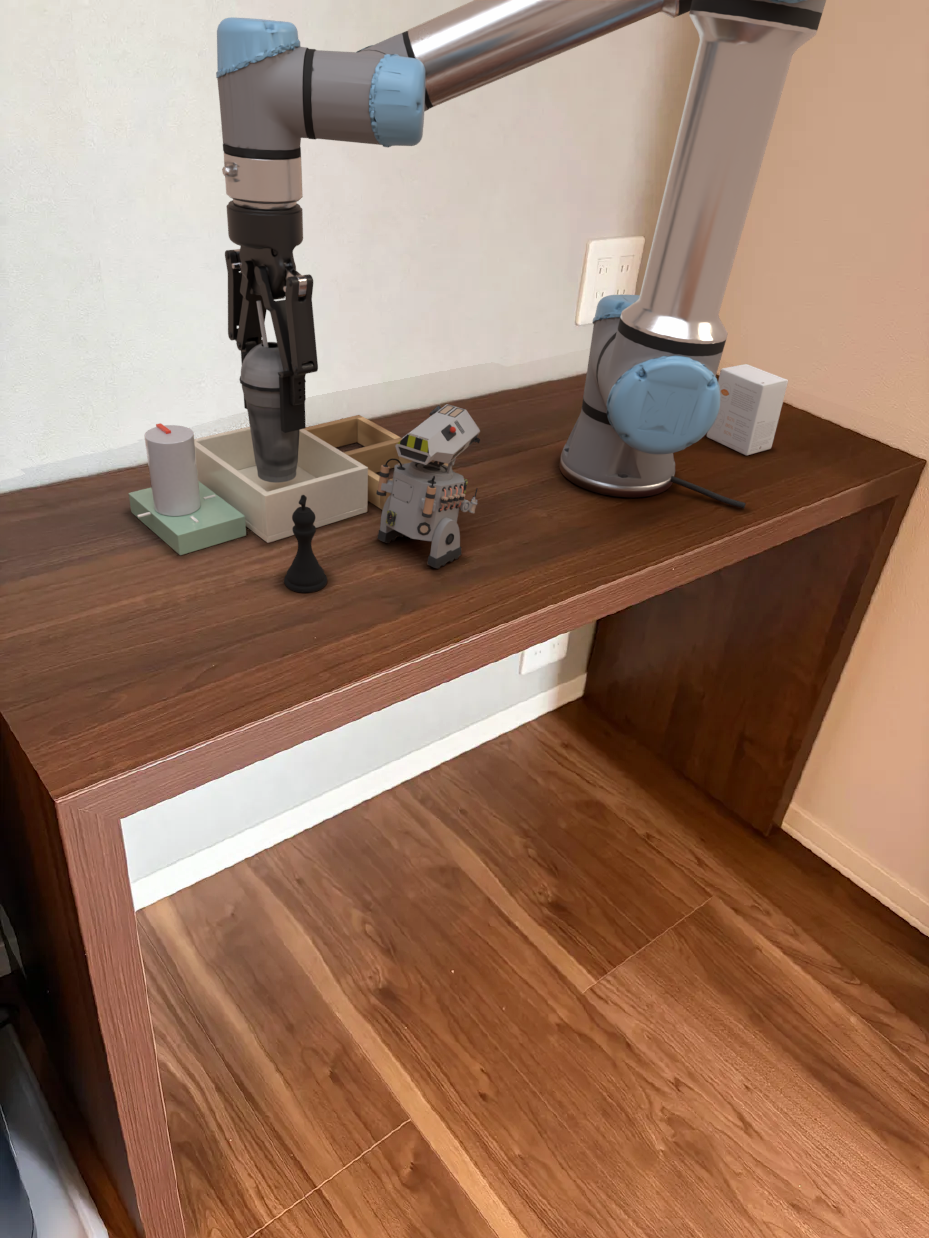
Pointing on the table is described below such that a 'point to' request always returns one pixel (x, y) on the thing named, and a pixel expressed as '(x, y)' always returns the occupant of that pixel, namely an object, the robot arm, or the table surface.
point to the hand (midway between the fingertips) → (274, 417)
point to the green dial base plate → (191, 521)
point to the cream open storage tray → (269, 506)
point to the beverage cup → (268, 411)
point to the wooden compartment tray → (372, 455)
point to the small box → (748, 408)
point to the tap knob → (173, 469)
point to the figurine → (429, 484)
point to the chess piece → (304, 554)
